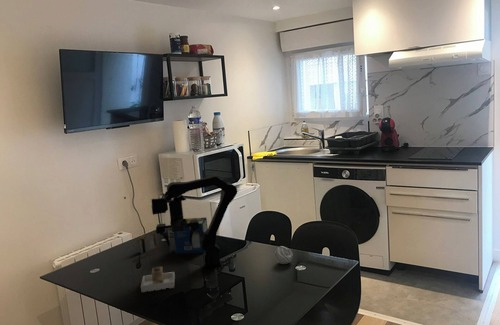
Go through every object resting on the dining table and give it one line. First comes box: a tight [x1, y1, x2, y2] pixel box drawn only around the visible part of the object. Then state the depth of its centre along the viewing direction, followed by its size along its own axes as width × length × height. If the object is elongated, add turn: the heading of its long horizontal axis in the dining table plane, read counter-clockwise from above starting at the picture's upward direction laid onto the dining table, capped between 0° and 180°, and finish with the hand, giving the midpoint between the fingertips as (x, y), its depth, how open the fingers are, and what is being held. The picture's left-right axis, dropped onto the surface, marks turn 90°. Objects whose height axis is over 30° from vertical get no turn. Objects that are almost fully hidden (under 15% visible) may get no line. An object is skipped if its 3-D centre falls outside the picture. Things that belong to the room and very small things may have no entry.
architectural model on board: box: [137, 232, 159, 255], centre depth 225 cm, size 11×3×10 cm, turn 150°
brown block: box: [151, 266, 164, 284], centre depth 178 cm, size 4×6×7 cm, turn 9°
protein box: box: [173, 217, 209, 255], centre depth 218 cm, size 10×15×16 cm
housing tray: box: [140, 271, 176, 293], centre depth 179 cm, size 13×11×2 cm
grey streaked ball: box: [274, 245, 294, 265], centre depth 190 cm, size 8×8×8 cm
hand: (179, 245), depth 190 cm, fingers open, 9 cm apart
